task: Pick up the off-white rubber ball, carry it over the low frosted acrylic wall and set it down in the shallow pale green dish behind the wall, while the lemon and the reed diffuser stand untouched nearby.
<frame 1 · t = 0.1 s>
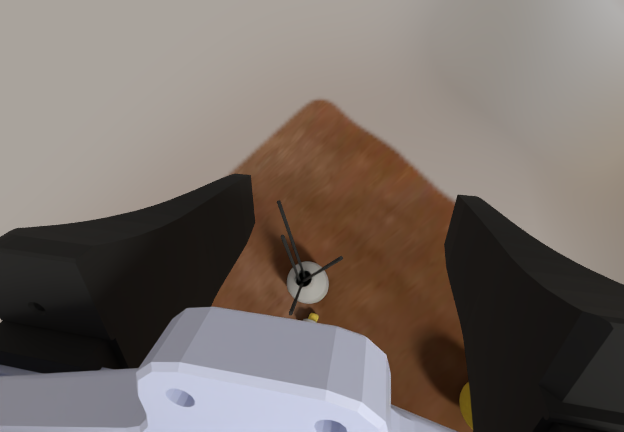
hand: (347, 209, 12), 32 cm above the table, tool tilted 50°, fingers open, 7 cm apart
reed diffuser: (319, 289, 43), on the table
lemon: (476, 399, 38), on the table
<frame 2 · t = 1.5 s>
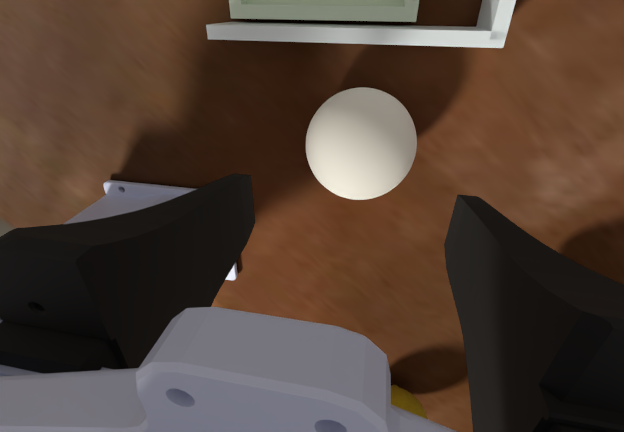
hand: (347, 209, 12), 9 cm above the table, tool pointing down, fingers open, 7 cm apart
acrylic walls: (352, 30, 18), resting in resting spot
ball: (363, 128, 20), on the table
lemon: (394, 384, 32), on the table
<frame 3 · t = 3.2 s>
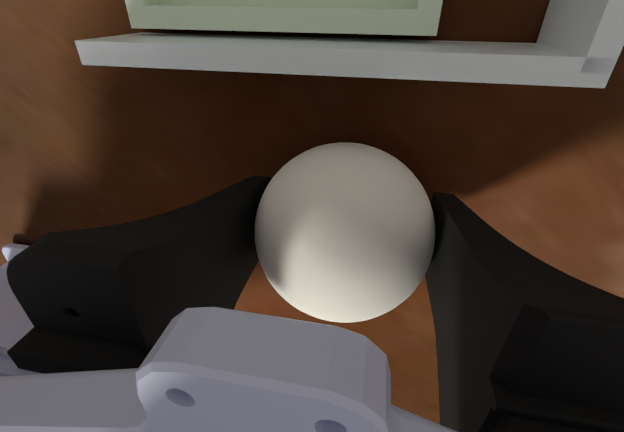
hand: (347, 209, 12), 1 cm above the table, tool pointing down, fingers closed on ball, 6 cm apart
acrylic walls: (330, 48, 11), resting in resting spot
ball: (351, 191, 13), on the table, touching gripper
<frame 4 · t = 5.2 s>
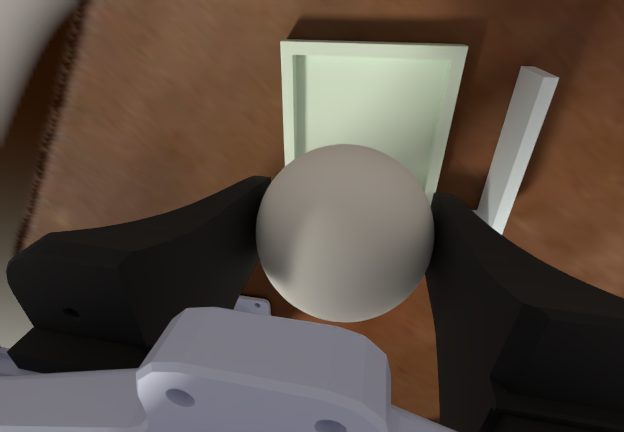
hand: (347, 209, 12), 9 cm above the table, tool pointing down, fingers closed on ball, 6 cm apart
resting spot: (363, 127, 20), on the table
acrylic walls: (380, 204, 22), resting in resting spot
ball: (353, 192, 13), point 8 cm above the table, touching gripper
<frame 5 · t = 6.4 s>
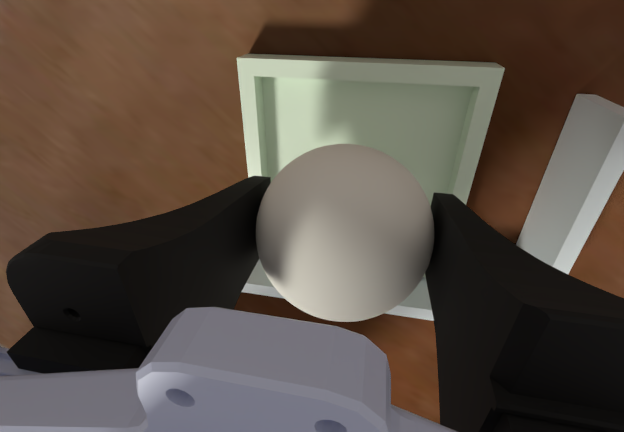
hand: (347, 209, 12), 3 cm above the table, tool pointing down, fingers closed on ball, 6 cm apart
resting spot: (355, 170, 15), on the table
acrylic walls: (377, 263, 17), resting in resting spot
ball: (353, 192, 13), point 2 cm above the table, touching gripper
when the fingers open (3 cm above the table, at t = 7.3 s): ball drops 2 cm, resting on resting spot.
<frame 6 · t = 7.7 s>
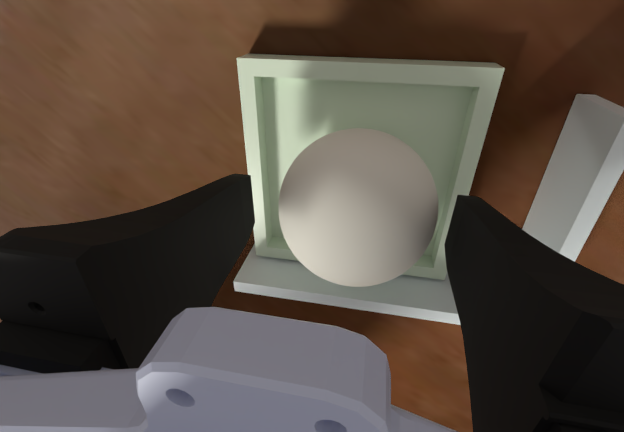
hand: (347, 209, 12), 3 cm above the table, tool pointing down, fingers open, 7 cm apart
resting spot: (355, 170, 15), on the table
acrylic walls: (377, 263, 17), resting in resting spot
ball: (355, 174, 15), resting on resting spot
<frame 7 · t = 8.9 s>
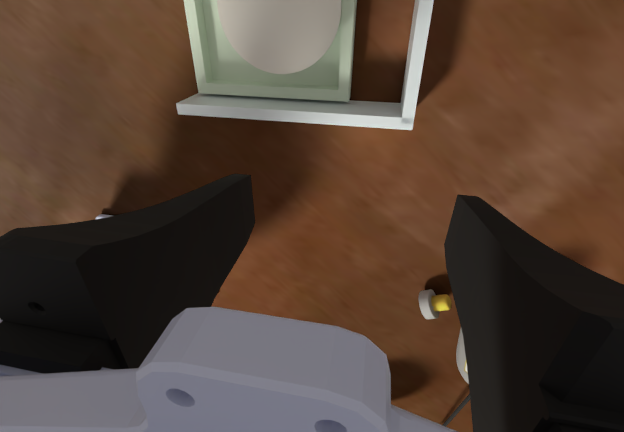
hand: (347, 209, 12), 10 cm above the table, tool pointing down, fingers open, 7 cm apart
reed diffuser: (498, 309, 23), point 3 cm above the table
resting spot: (272, 6, 19), on the table
acrylic walls: (300, 102, 21), resting in resting spot
ball: (271, 7, 18), point 1 cm above the table, tilted 25°, touching resting spot
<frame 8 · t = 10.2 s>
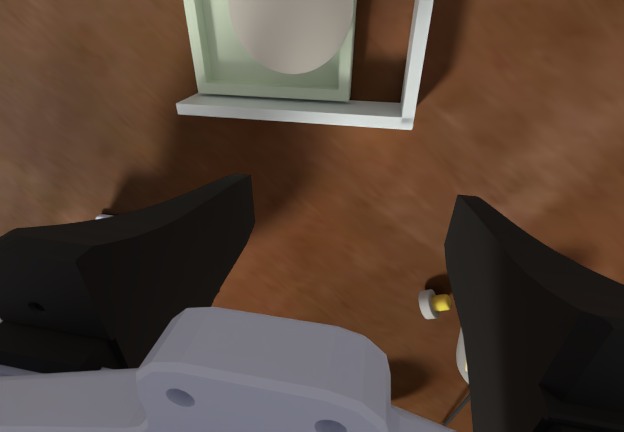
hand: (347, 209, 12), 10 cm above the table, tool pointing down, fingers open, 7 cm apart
reed diffuser: (498, 309, 23), point 3 cm above the table
resting spot: (272, 5, 19), on the table
acrylic walls: (300, 102, 21), resting in resting spot
ball: (271, 7, 18), point 1 cm above the table, tilted 36°, touching resting spot
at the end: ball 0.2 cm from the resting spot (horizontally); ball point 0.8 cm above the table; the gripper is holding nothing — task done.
